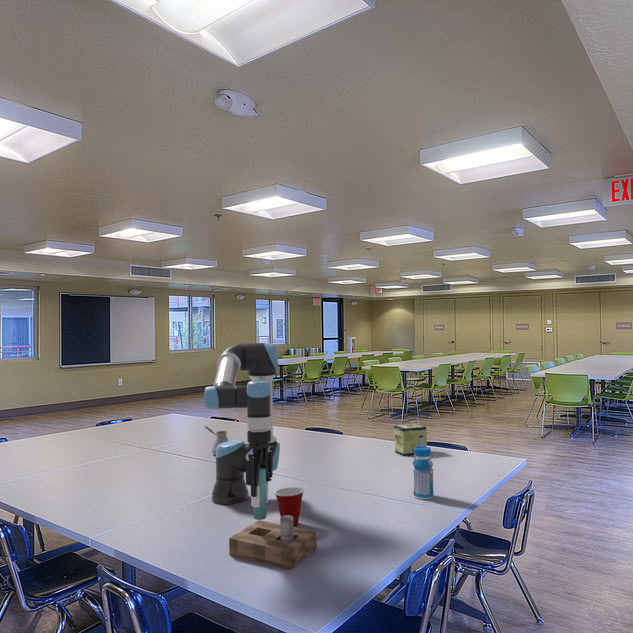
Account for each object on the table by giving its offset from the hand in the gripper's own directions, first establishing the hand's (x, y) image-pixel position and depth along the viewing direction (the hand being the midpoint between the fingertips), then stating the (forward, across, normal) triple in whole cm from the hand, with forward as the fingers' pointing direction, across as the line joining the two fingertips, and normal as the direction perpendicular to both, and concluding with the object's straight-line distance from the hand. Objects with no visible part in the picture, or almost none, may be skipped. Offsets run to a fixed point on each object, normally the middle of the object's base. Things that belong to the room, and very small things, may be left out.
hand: (259, 504), depth 150 cm
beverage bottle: (+13, -70, +33) cm, 79 cm away
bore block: (+14, 0, +5) cm, 15 cm away
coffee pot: (+12, -95, -98) cm, 138 cm away
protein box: (+13, -141, +6) cm, 142 cm away
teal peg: (+4, 0, 0) cm, 4 cm away
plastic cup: (+14, -21, -2) cm, 26 cm away
